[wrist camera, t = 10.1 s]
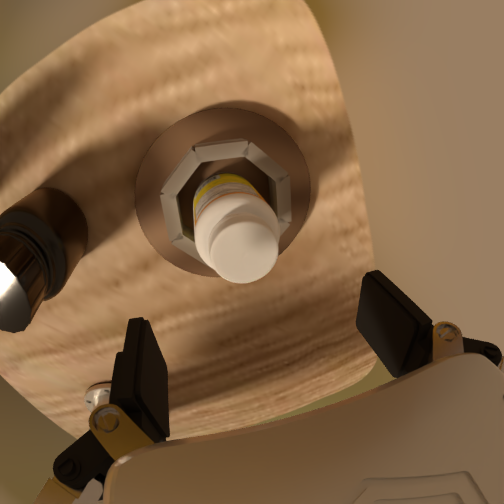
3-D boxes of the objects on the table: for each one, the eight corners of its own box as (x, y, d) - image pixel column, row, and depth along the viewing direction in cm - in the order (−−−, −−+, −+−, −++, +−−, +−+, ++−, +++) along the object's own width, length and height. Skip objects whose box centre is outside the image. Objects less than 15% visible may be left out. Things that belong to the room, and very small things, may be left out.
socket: (305, 255, 31) (319, 274, 28) (157, 280, 29) (155, 303, 26) (301, 103, 24) (319, 102, 20) (124, 125, 21) (112, 127, 18)
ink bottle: (9, 239, 23) (-48, 302, 13) (32, 169, 21) (-43, 211, 10) (76, 281, 27) (39, 362, 17) (106, 216, 25) (62, 287, 14)
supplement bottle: (248, 233, 27) (278, 298, 18) (188, 226, 26) (189, 292, 17) (261, 175, 25) (303, 216, 16) (198, 165, 23) (203, 201, 14)
